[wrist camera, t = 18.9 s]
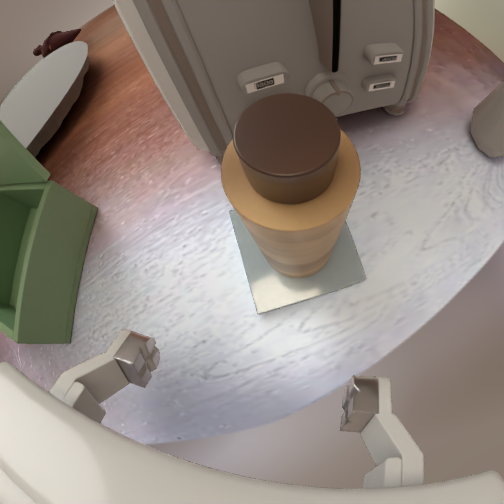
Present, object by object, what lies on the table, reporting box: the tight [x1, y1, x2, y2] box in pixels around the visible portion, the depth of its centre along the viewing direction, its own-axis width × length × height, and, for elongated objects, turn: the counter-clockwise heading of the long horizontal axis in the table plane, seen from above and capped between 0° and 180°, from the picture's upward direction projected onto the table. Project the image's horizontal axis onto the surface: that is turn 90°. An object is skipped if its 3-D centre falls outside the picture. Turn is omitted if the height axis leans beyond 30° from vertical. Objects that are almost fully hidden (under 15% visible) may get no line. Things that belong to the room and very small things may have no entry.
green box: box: [0, 180, 98, 344], centre depth 22 cm, size 14×13×7 cm
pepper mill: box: [221, 93, 361, 278], centre depth 14 cm, size 5×5×13 cm
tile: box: [229, 210, 366, 314], centre depth 21 cm, size 8×8×1 cm
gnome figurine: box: [33, 29, 81, 59], centre depth 35 cm, size 7×7×15 cm
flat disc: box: [0, 41, 90, 158], centre depth 31 cm, size 28×28×4 cm
